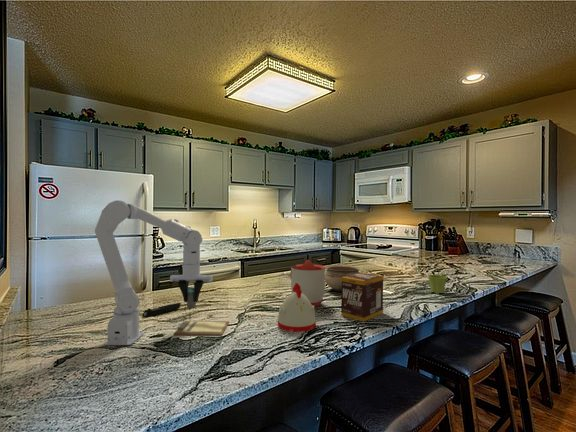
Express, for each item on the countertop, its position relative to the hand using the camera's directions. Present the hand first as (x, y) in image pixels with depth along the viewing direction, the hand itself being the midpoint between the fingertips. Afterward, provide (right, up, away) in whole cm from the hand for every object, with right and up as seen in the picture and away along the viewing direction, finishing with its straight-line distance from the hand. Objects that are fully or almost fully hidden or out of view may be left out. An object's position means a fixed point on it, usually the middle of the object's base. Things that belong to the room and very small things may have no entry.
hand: (191, 301), depth 110 cm
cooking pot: (+64, -10, +54) cm, 84 cm away
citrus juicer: (+43, -9, +29) cm, 52 cm away
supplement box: (+65, -10, +15) cm, 67 cm away
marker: (0, -2, 0) cm, 2 cm away
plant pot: (+113, -10, +51) cm, 124 cm away
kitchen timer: (+38, -10, +3) cm, 39 cm away
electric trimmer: (-17, -9, +16) cm, 25 cm away
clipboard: (+5, -9, -2) cm, 10 cm away
